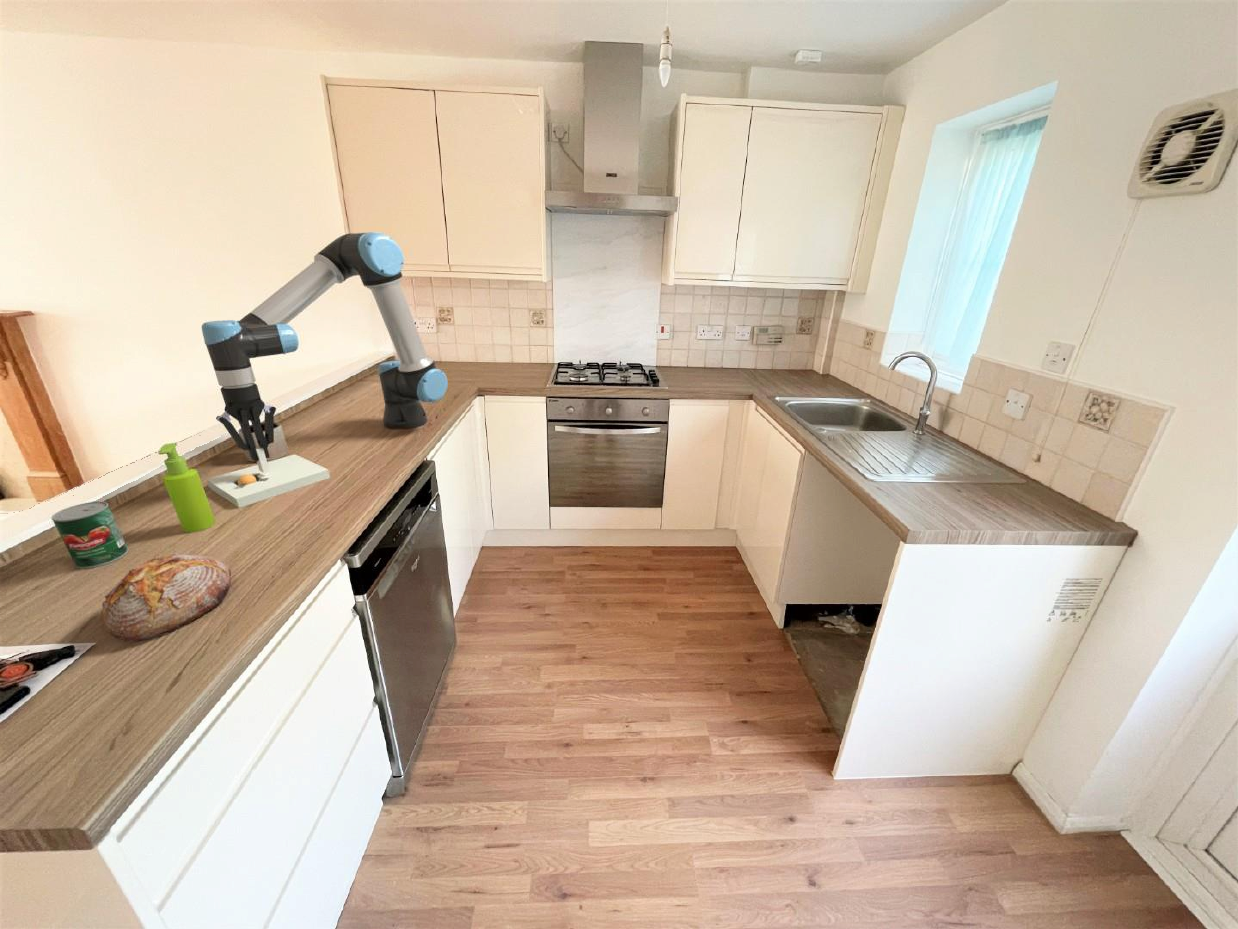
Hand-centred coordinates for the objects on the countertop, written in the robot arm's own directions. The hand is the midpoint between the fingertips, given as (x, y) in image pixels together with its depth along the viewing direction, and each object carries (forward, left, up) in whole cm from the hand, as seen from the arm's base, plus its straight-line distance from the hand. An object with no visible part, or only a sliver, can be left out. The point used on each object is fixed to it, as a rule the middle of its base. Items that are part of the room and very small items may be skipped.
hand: (264, 470), depth 133 cm
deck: (-1, 0, -4) cm, 4 cm away
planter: (-9, -22, -4) cm, 24 cm away
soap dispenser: (+19, +13, -4) cm, 24 cm away
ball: (+4, 0, -2) cm, 5 cm away
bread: (+32, +43, -4) cm, 54 cm away
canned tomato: (+35, +12, -4) cm, 38 cm away
